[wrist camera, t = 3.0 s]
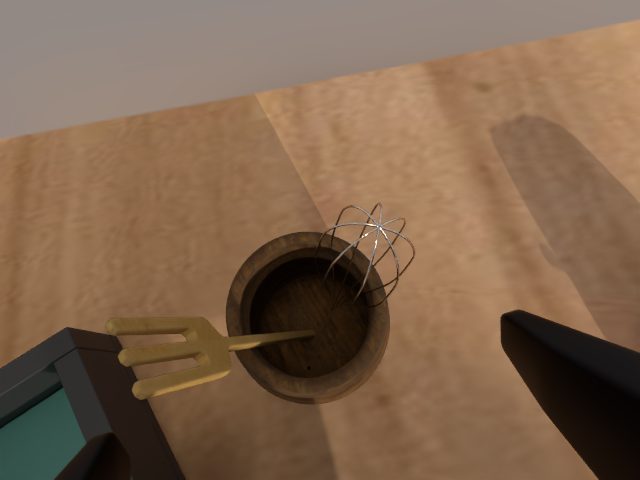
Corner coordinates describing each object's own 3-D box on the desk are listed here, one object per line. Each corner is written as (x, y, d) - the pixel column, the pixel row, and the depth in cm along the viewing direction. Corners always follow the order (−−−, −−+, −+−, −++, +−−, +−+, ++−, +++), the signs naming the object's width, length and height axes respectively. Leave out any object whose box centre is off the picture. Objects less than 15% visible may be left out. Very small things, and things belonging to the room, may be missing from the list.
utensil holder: (404, 350, 18) (527, 303, 6) (289, 430, 17) (193, 543, 5) (335, 250, 19) (335, 76, 8) (227, 317, 18) (59, 223, 7)
